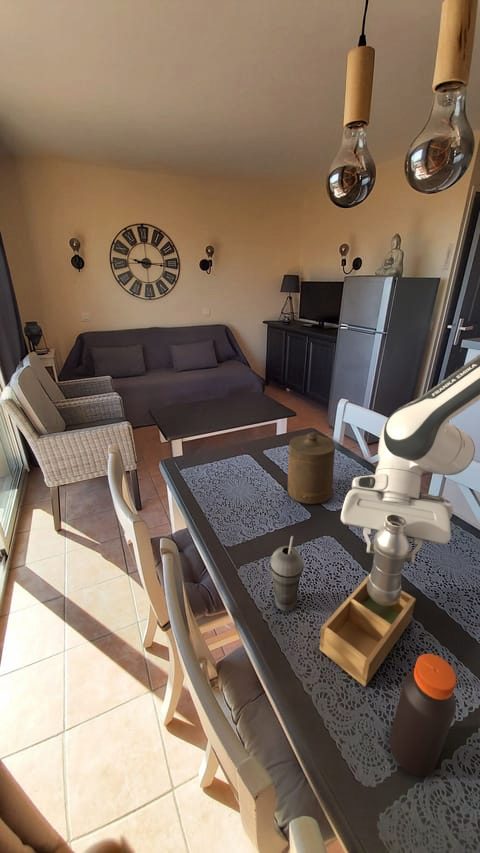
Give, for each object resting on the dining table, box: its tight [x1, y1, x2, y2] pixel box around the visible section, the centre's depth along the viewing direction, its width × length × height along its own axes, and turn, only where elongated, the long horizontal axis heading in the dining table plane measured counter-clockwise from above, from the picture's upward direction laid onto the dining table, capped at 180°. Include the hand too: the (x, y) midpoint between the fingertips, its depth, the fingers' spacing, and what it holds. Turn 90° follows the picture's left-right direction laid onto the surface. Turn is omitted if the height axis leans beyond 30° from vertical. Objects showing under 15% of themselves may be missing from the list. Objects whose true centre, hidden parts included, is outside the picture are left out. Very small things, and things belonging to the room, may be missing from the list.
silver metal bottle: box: [367, 514, 411, 606], centre depth 71 cm, size 6×7×20 cm
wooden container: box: [287, 431, 336, 505], centre depth 119 cm, size 15×15×22 cm
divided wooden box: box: [319, 572, 417, 688], centre depth 74 cm, size 10×19×7 cm, turn 133°
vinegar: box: [389, 653, 457, 778], centre depth 53 cm, size 7×7×20 cm
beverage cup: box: [269, 535, 304, 612], centre depth 79 cm, size 7×7×20 cm
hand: (389, 557), depth 70 cm, fingers closed on silver metal bottle, 6 cm apart
